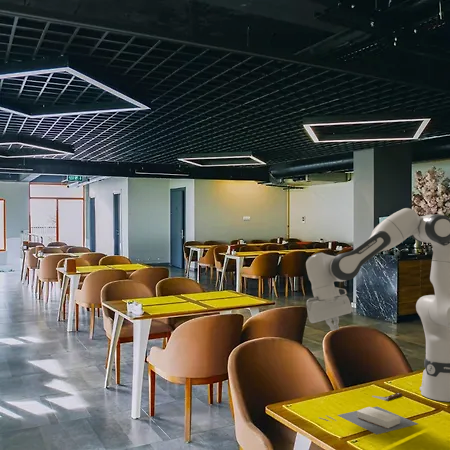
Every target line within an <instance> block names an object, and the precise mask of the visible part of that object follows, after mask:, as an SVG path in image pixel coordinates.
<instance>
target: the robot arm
mask: <svg viewBox="0 0 450 450" xmlns="http://www.w3.org/2000/svg"><path fill="white" fill-rule="evenodd" d="M409 237H411V238H412V239H413V240H415V241H417V242H419V243H427V244H431V248H432V257H431V258H432V259H431V265H430V266H431V267H430V274H429V281H430V283H431V284H432V287H433V290H434V294H428V295H423V296H421V297H419V298H418V299H417V301H416V304H415V310H416V313H417V314H418V316H419V318H420V320H421V324H422V326H423V331H424V337H425V338H424V339H425V357H424V361H423V362H424V363H423V364H424V365H423V366H424V368H425V369H424V370H423V372H422V379H421V381H422V382H421V386H419V391H421V392H420V394H421V395H422V396H424V398H425V397H426V398H427V399H430V400H434V401H438V402H450V217H448V216H446V215H444V214H438V213H437V214H426V215H420V216H419V214H418V213H417V212H416V211H415V210H414V209H412V208H409V207H405V208H402V209H400V210H398V211H396V212H394V213H392V214H390V215H389V216H387V217H386V218H385V219H383V220H382V221H381V222H379V223H378V224H377V225H376V226H375V227H374V229H373V230H372V231H371V234H370V236H369V237H368V238H367V239H366V240H365V241H364V242H363V243H361V244H360V245H358V246H356V248H354V249H352V250H351V251H347V252H343V253H339V254H337V255H330V254H327V253H324V252H317V253H315V254H313V255H311V256H309V257H308V258H307V259H306V262H305V268H306V272H307V277H308V281H310V284H311V292H312V295H313V297H310V298H308V299H307V300H306V303H305V304H306V311H307V318H308V321H309V323H311V324H316V323H319V322H323V321H325V324H326V325H327V326H329V330H330V331H337V330H340V327H339V323H340V317H341V316H345V315H348V314H351V313H352V311H353V308H352V303H351V301H350V299H349V297H348V296H347V294H348V292H347V290H346V289H345V288H341V287H337V286H335V282H340V283H341V282H342V283H343V282H346V281H351V280H352V279H354V278H356V276H357V275H358V274H359V273H360V270H361V268H362V267H363V265H364V264H365V263H367V262H368V261H369V260H371V259H372V258H373V257H375V256H376V255H377V254H379V253H381V252H383V251H389V250H390V249H392V248H396V247H397V246H398V245H400V244H401V243H403V242H404V241H406V239H407V238H409Z"/></svg>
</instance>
